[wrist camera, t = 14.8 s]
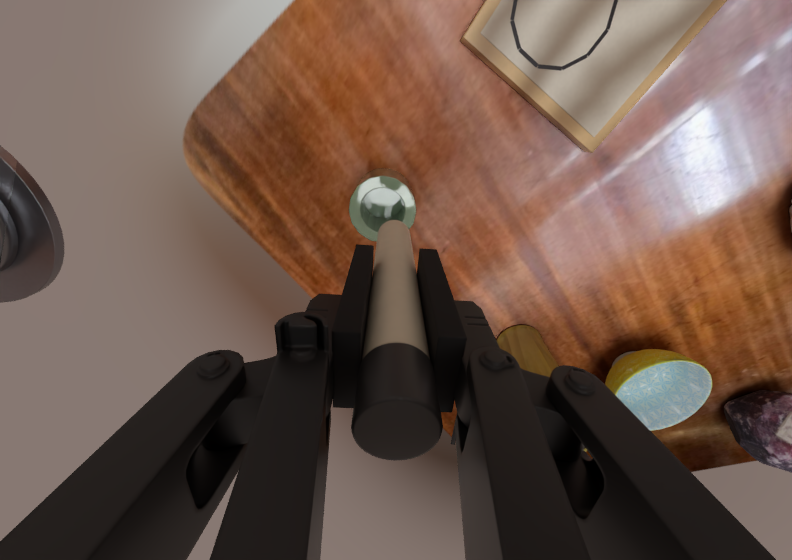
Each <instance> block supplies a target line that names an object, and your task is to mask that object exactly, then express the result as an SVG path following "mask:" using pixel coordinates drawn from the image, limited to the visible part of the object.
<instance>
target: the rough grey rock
mask: <svg viewBox="0 0 792 560" xmlns="http://www.w3.org/2000/svg"><path fill="white" fill-rule="evenodd" d="M791 203H792V199H791ZM789 214H790V217H791V219H790V221H791V231H792V205H791V206H790V208H789Z"/></svg>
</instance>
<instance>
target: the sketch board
mask: <svg viewBox="0 0 792 560" xmlns="http://www.w3.org/2000/svg"><path fill="white" fill-rule="evenodd" d="M726 1H727V0H485V2H484V3H483V5H482V6H481V8H480V10H479V11H478V13H477V14H476V16H475V18H474V19H473V21H472V22H471V24H470V25H469V27H468V29H467V30H466V32H465V33H464V35H463V37H462V38H461V40H460V41H461V42H462V43H463V44H464V45H465V46H466V47H467V48H468V49H470V50H471V51H472V52H473V53H474V54H475V55H476V56H477V57H479V58H480V59H481V60H482V61H483V62H484V63H485V64H486V65H488V66H489V67H490V68H491V69H492V70H493V71H494V72H495V73H497V74H498V75H499V76H500V77H501V78H502V79H503V80H504V81H505V82H507V83H508V84H509V85H510V86H511V87H512V88H513V89H514V90H516V91H517V92H518V93H519V94H520V95H521V96H522V97H523V98H525V99H526V100H527V101H528V102H529V103H530V104H531V105H532V106H534V107H535V108H536V109H537V110H538V111H539V112H540V113H541V114H543V115H544V116H545V117H546V118H547V119H548V120H549V121H550V122H552V123H553V124H554V125H555V126H556V127H557V128H558V129H559V130H561V131H562V132H563V133H564V134H565V135H566V136H567V137H568V138H569V139H571V140H572V141H573V142H574V143H575V144H576V145H577V146H578V147H580V148H581V149H582V150H583V151H584V152H590V153H593V152H594V150H595V149H596V148H597V147H598V146H599V145H600V144H601V143H602V141H603V140H604V139H605V138H606V137H607V136H608V135H609V133H610V132H611V131H612V130H613V129H614V128H615V127H616V126H617V124H618V123H619V122H620V121H621V120H622V119H623V118H624V116H625V115H626V114H627V113H628V112H629V111H630V110H631V109H632V107H633V106H634V105H635V104H636V103H637V102H638V101H639V99H640V98H641V97H642V96H643V95H644V94H645V93H646V92H647V90H648V89H649V88H650V87H651V86H652V85H653V84H654V83H655V81H656V80H657V79H658V78H659V77H660V76H661V75H662V73H663V72H664V71H665V70H666V69H667V68H668V67H669V66H670V64H671V63H672V62H673V61H674V60H675V59H676V58H677V56H678V55H679V54H680V53H681V52H682V51H683V50H684V49H685V47H686V46H687V45H688V44H689V43H690V42H691V41H692V39H693V38H694V37H695V36H696V35H697V34H698V33H699V32H700V30H701V29H702V28H703V27H704V26H705V25H706V24H707V23H708V21H709V20H710V19H711V18H712V17H713V16H714V15H715V13H716V12H717V11H718V10H719V9H720V8H721V7H722V6H723V4H724V3H725V2H726Z"/></svg>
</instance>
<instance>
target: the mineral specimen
mask: <svg viewBox="0 0 792 560" xmlns="http://www.w3.org/2000/svg"><path fill="white" fill-rule="evenodd" d="M724 413H725V416H726V419H727V422H728V424H729V426H730V429H731V431H732V433H733V435H734V437H735V440H736V441H737V443H738V444H740V446H741V447H743V448H744V449H745V450H746V451H747V452H748V453H749V454H750V455H751V456H752V457H754V458H755V459H756V460H758V461H759V462H761V463H763V464H766V465H769V466H772V467H776V468H779V469H782V470H785V471H789V472H792V393H785V392H777V391H766V390H759V391H756V392H753V393H750V394H747V395H745V396H742V397H739V398H737V399H734V400H732V401H729V402H727V403H726V404H725V406H724Z"/></svg>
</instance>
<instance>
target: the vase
mask: <svg viewBox="0 0 792 560" xmlns="http://www.w3.org/2000/svg"><path fill="white" fill-rule="evenodd" d="M496 341H497V343H498V345H499V347H500V349H502V350H504V351H507V352H508V353H510V354H511V355H512V356H513V357H515V359H516V360H517V362H518V363H519V366H520V368H521V369H524V370H527V371H529V372H533V373H537V374H540V375H544V376H548V377H550V375H551V372H552V371H553V370H554V369H555V368H556V367H559V365H558V364H557V362H556V361H555V359H554V357H553V356H552V354H551V352H550V351H549V349H548V348H547V346H546V345H545V343H544V341H543V339H542V337H541V335H540V333H539V332H538V331H537V330H536V329H535V328H533V327H530V326H527V325H517V326H513V327H510V328H508V329H506V330H505V331H503V332H502V333H501V334H500V336H499V337H498V339H497V340H496ZM584 451H585V452H586V451H587V449H586V448H585V447H584Z"/></svg>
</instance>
